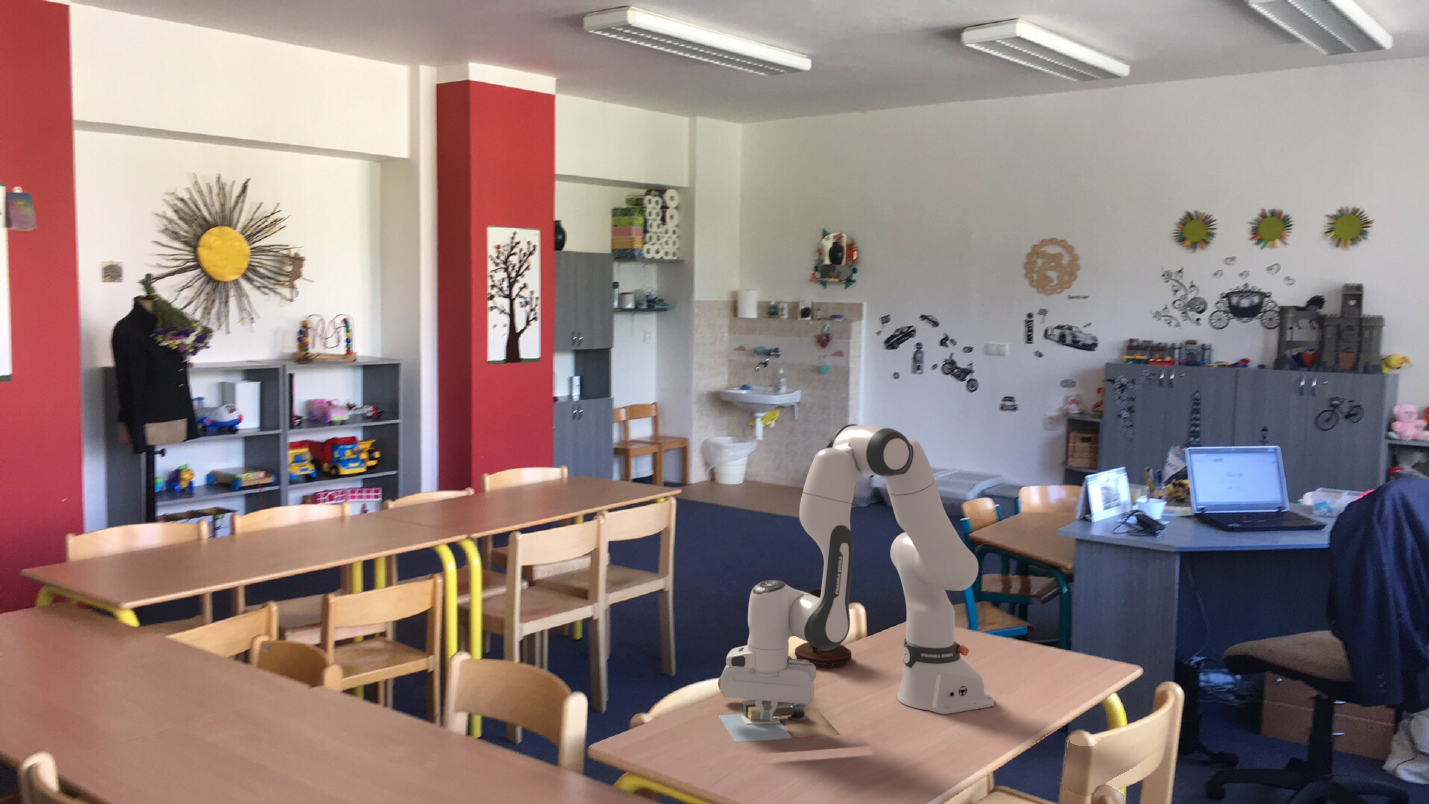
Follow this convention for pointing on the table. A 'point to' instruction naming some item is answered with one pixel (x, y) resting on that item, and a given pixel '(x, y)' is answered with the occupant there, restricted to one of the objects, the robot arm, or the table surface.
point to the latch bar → (780, 710)
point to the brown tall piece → (820, 656)
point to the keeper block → (745, 707)
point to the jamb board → (809, 725)
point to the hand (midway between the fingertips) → (766, 719)
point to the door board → (753, 728)
